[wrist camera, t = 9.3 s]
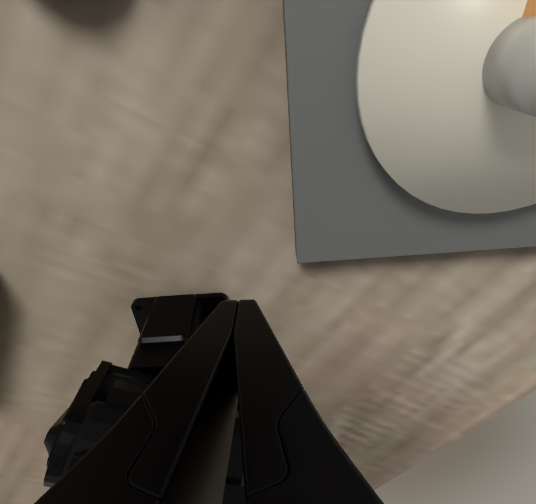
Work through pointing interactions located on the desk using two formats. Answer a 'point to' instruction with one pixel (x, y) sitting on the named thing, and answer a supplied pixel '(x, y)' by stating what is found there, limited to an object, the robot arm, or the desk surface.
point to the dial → (452, 99)
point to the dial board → (360, 159)
